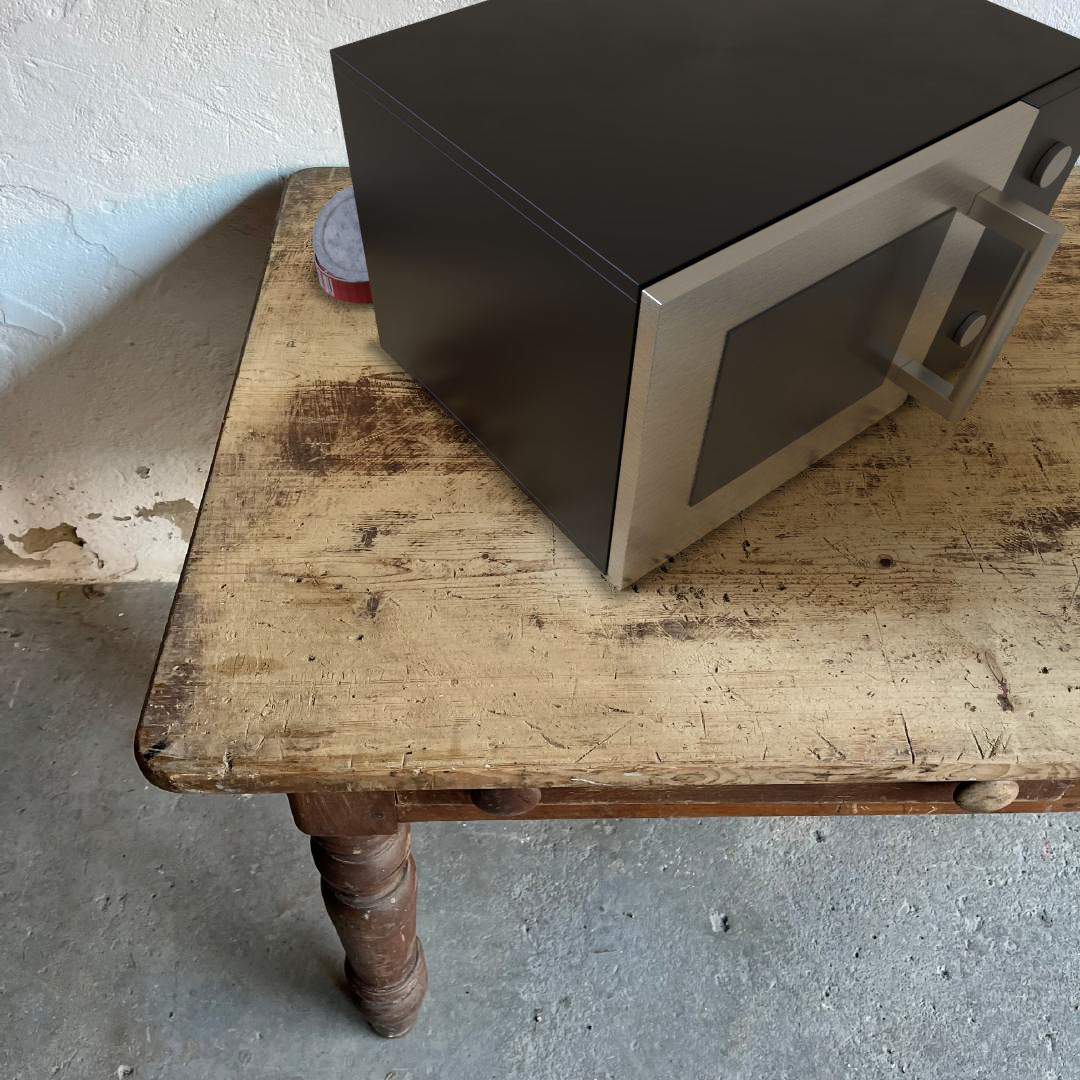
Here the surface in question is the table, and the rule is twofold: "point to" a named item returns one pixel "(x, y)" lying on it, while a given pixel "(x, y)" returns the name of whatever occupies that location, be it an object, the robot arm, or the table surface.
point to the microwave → (647, 185)
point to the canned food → (341, 250)
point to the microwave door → (813, 336)
